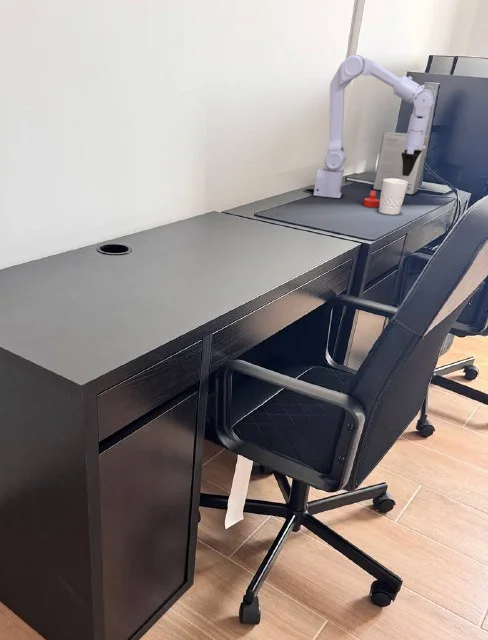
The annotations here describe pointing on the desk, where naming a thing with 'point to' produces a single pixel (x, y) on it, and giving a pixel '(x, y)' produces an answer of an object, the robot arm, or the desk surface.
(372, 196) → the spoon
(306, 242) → the desk surface
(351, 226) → the desk surface
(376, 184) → the hard drive box
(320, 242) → the desk surface
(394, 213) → the white cup
